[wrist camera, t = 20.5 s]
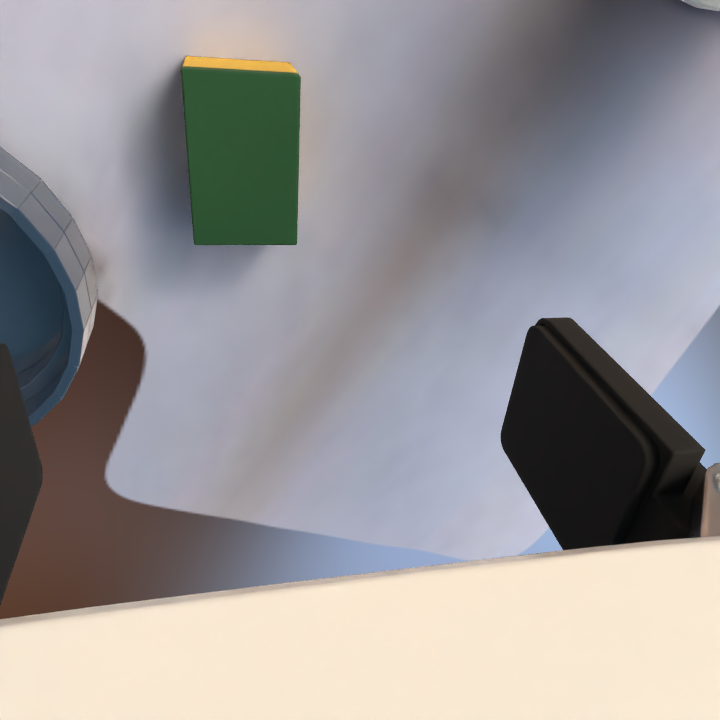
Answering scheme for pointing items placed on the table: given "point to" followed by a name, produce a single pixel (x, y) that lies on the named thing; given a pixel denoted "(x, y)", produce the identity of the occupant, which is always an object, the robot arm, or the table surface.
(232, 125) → the sponge
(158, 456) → the table surface
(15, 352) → the bowl
